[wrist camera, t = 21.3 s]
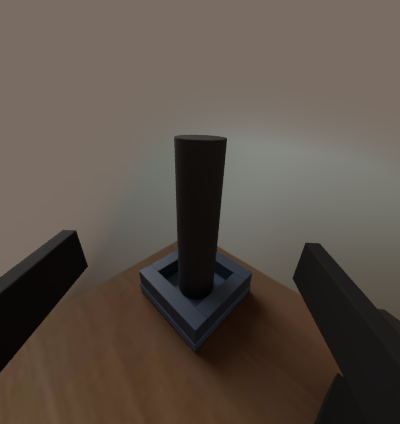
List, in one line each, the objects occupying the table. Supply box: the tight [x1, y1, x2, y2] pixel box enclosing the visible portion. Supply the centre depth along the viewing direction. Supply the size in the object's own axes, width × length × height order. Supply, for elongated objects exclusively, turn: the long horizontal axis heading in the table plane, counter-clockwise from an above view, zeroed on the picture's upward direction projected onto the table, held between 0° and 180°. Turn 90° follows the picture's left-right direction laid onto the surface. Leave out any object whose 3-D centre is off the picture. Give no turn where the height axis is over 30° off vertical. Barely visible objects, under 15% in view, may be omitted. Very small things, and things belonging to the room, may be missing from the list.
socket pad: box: [139, 250, 252, 352], centre depth 21 cm, size 9×9×3 cm
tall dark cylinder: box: [174, 135, 227, 300], centre depth 18 cm, size 4×4×16 cm
